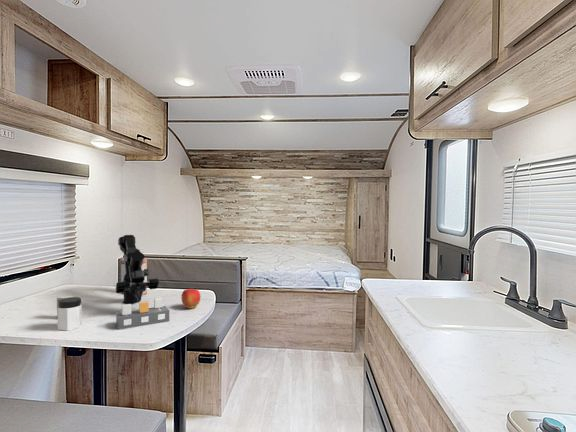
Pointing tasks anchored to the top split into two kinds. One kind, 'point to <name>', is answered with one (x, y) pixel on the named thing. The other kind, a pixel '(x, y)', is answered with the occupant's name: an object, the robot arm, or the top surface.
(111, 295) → the top surface
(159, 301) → the tab
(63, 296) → the skincare box
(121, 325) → the grey cube slider board
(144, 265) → the cracker box
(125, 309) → the tab
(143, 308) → the tab
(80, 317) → the jar
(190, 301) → the apple
